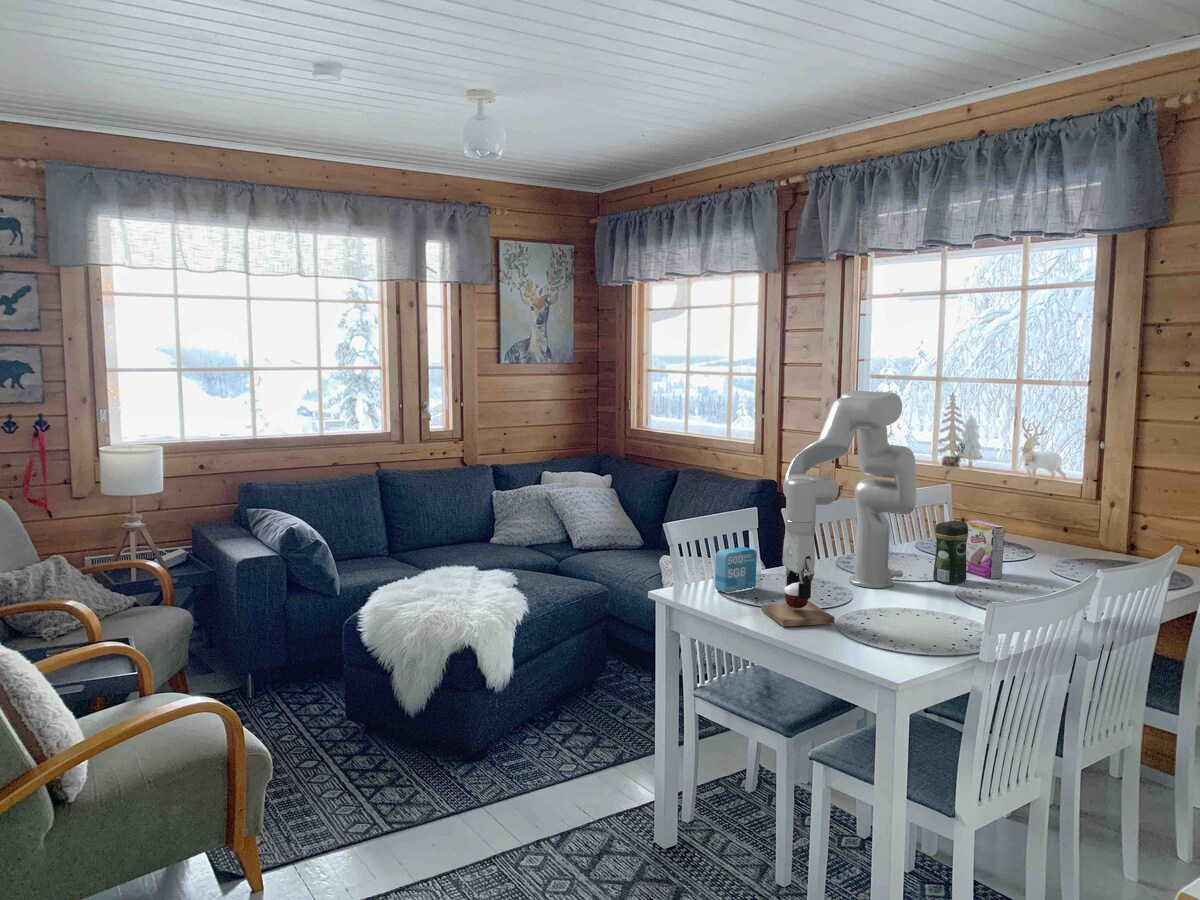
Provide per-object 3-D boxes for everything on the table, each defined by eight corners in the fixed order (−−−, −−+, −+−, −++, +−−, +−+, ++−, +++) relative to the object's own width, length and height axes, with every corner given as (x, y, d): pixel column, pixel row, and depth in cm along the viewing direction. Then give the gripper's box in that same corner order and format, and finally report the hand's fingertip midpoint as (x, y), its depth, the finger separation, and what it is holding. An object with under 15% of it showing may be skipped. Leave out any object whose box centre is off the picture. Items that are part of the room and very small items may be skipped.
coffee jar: (947, 576, 280) (950, 517, 278) (970, 582, 273) (973, 521, 271) (927, 580, 275) (931, 520, 273) (950, 586, 268) (953, 525, 266)
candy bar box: (963, 571, 286) (965, 520, 285) (975, 570, 288) (978, 519, 286) (990, 580, 276) (993, 527, 274) (1002, 578, 278) (1005, 526, 276)
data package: (724, 595, 256) (725, 553, 255) (714, 591, 260) (715, 550, 259) (756, 589, 263) (757, 548, 262) (745, 585, 267) (746, 545, 265)
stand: (810, 609, 243) (810, 602, 243) (834, 624, 229) (834, 617, 229) (761, 612, 240) (761, 604, 240) (782, 628, 226) (783, 620, 226)
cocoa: (796, 613, 230) (798, 568, 228) (776, 607, 234) (778, 562, 232) (818, 604, 236) (820, 560, 234) (798, 598, 241) (800, 555, 238)
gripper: (773, 520, 240) (771, 586, 242) (801, 534, 223) (799, 604, 225) (799, 519, 241) (797, 585, 243) (829, 533, 224) (826, 603, 227)
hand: (798, 593), depth 234 cm, fingers closed on cocoa, 6 cm apart
